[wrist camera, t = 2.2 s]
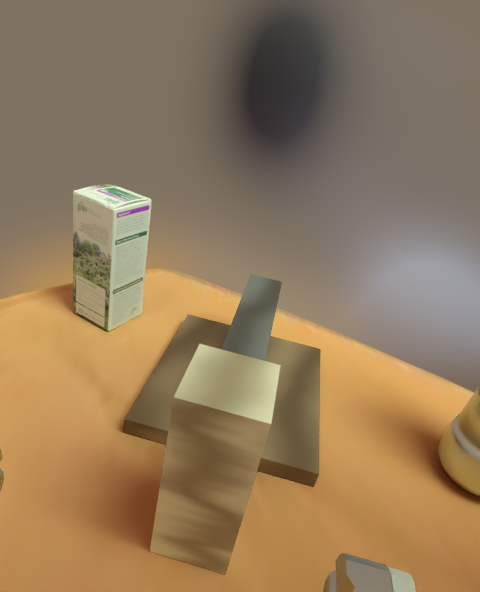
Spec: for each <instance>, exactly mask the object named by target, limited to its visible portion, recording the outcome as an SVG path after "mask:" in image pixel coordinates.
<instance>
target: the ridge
mask: <svg viewBox="0 0 480 592" xmlns="http://www.w3.org/2000/svg"><path fill="white" fill-rule="evenodd" d="M281 283H282V282H280V281H276V280H272V279H267V278H264V277H260V276H256V275H252V274H251V275H250V278H249V280H248V283H247V286H246V288H245V291H244V293H243V296H242V298H241V301H240V303H239V306H238V308H237V311H236V314H235V316H234V319H233V321H232V324H231V326H230V325H226V324H223V323H219V322H215V321H211V320H207V319H204V318H200V317H196V316H192V315H187V317H186V318H185V320H184V322H183V323H182V325H181V327H180V328H179V330H178V332H177V333H176V335H175V337H174V338H173V340H172V342H171V343H170V345H169V347H168V348H167V350H166V351H165V353H164V355H163V356H162V358H161V360H160V361H159V363H158V365H157V366H156V368H155V370H154V371H153V373H152V375H151V376H150V378H149V380H148V381H147V383H146V385H145V386H144V388H143V390H142V391H141V393H140V395H139V396H138V398H137V400H136V401H135V403H134V405H133V406H132V408H131V410H130V411H129V413H128V415H127V416H126V418H125V422H124V433H127V434H131V435H134V436H138V437H141V438H145V439H148V440H152V441H155V442H159V443H162V444H166V443H167V436H168V430H169V423H170V417H171V410H172V404H173V397H174V395H175V393H176V391H177V389H178V387H179V385H180V383H181V381H182V379H183V377H184V375H185V373H186V371H187V368H188V366H189V364H190V362H191V360H192V358H193V356H194V354H195V352H196V350H197V348H198V346H199V344H203V345H207V346H210V347H214V348H218V349H222V350H225V351H229V352H233V353H237V354H240V355H244V356H248V357H252V358H255V359H259V360H263V361H267V362H270V363H274V364H278V365H280V372H279V378H278V385H277V391H276V398H275V404H274V410H273V417H272V423H271V427H270V430H269V433H268V437H267V440H266V443H265V447H264V450H263V453H262V456H261V460H260V463H259V466H258V469H257V471H260V472H264V473H267V474H271V475H274V476H278V477H281V478H285V479H288V480H292V481H295V482H299V483H302V484H306V485H309V486H313V487H314V485H315V482H316V480H317V477H318V475H319V418H320V349H318V348H314V347H310V346H306V345H303V344H299V343H295V342H291V341H287V340H284V339H280V338H276V337H272V336H270V335H271V330H272V325H273V321H274V316H275V311H276V307H277V302H278V298H279V293H280V288H281Z"/></svg>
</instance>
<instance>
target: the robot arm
mask: <svg viewBox="0 0 480 592" xmlns="http://www.w3.org/2000/svg"><path fill="white" fill-rule="evenodd" d="M1 460H2V453H1V449H0V461H1ZM3 480H4V478H3V471H2V470H1V468H0V490H1V488H2V484H3ZM323 592H416V589H415V584H414V580H413V578H412V576H411V574H410V573H408V572H405V571H402V570H398V569H395V568H391V567H387V566H386V565H384V564H380V563H377V562H373V561H370V560H366V559H363V558H359V557H356V556H352V555H349V554H345V553H342V554H340V555H339V556H338V558H337V560H336V571H333V572H331V573H329V575H328V577H327V579H326V582H325V585H324V590H323Z"/></svg>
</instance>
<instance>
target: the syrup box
mask: <svg viewBox="0 0 480 592" xmlns="http://www.w3.org/2000/svg"><path fill="white" fill-rule="evenodd" d="M150 214H151V199H149V198H147V197H144V196H141V195H139V194H136V193H133V192H131V191H128V190H125V189H123V188H120V187H117V186H115V185H110V184H109V185H96V186H92V187H87V188H83V189H79V190H74V193H73V312H74V313H76V314H78V315H80V316H82V317H83V318H85V319H87V320H89V321H91V322H92V323H94V324H96V325H98V326H99V327H101V328H103V329H105V330H107V331H110V330H112V329H115V328H117V327H119V326H121V325H123V324H125V323H126V322H128V321H130V320H132V319H134V318H136V317H138V316H139V315H141V313H142V303H143V289H144V278H145V267H146V255H147V246H148V245H147V244H148V236H149V225H150Z"/></svg>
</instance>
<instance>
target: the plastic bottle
mask: <svg viewBox="0 0 480 592" xmlns="http://www.w3.org/2000/svg"><path fill="white" fill-rule="evenodd" d="M438 452H439V456H440V460H441V464H442V466H443V468H444V470H445V471H446V473H447V474H448V475H449V476H450V478H452V479H453V480H454V481H455V482H456V483H457V484H458V485H459V486H461V487H462V488H464V489H465V490H467V491H468V492H470V493H472V494H474V495H477V496H480V385H479V387H478V389H477V390H476V392H475V393H474V395H473V396H472V397H471V399H470V400H469V402H468V403H467V404H466V406H465V407H464V408H463V410H462V411H461V413H460V414H459V415H458V416H457V417H456V418H455V419H454V420H453V421H452V422H451V423H450V424H449V425H448V426H447V428H446V429H445V430H444V432H443V434H442V437H441V440H440V443H439V448H438Z"/></svg>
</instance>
